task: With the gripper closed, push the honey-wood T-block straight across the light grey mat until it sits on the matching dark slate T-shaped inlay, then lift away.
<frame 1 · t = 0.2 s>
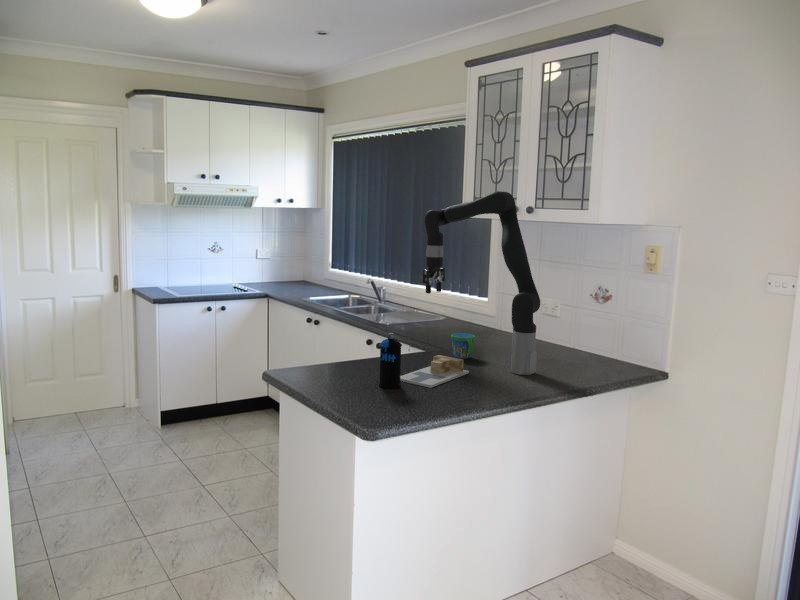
hand: (433, 292, 292), 29 cm above the table, fingers open, 8 cm apart
snack cup: (461, 358, 294), on the table
mat: (433, 376, 261), on the table
aerosol can: (389, 386, 246), on the table
t block: (442, 370, 266), point 1 cm above the table, touching mat
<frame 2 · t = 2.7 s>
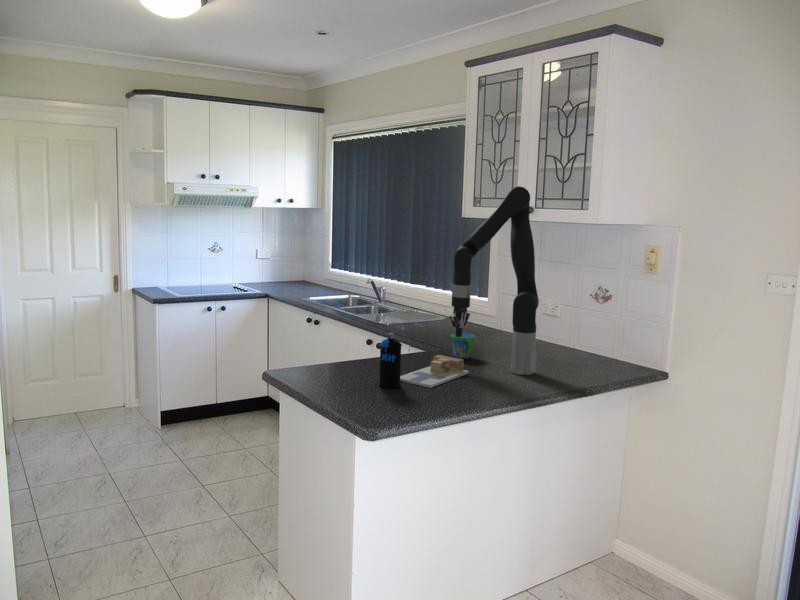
hand: (458, 336, 274), 13 cm above the table, fingers closed
nothing on the table moved.
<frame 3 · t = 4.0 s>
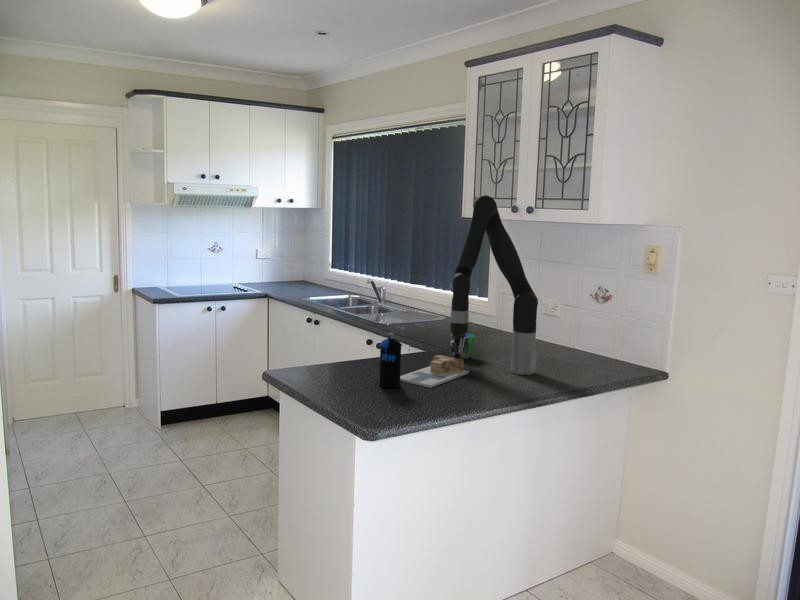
hand: (457, 361, 276), 3 cm above the table, fingers closed
nothing on the table moved.
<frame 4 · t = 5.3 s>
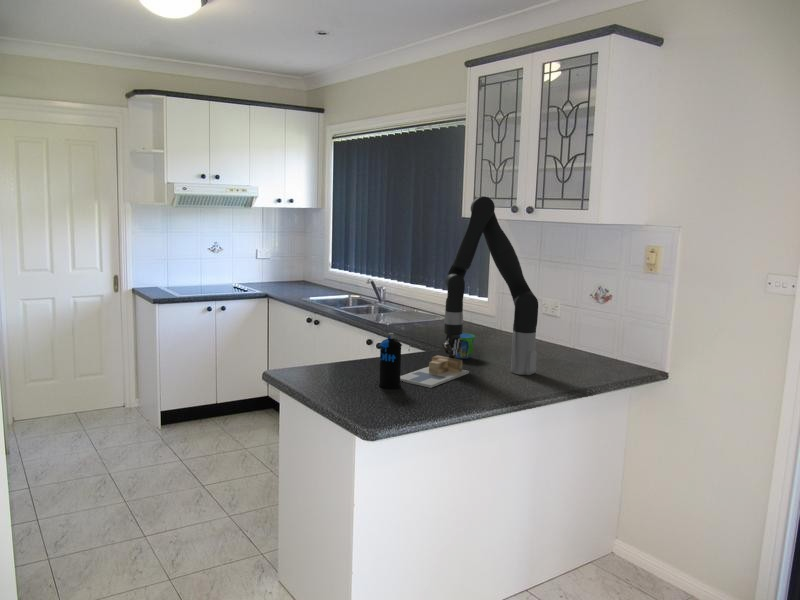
hand: (452, 363, 272), 3 cm above the table, fingers closed
t block: (441, 371, 265), point 1 cm above the table, touching gripper, mat
everything else where it was.
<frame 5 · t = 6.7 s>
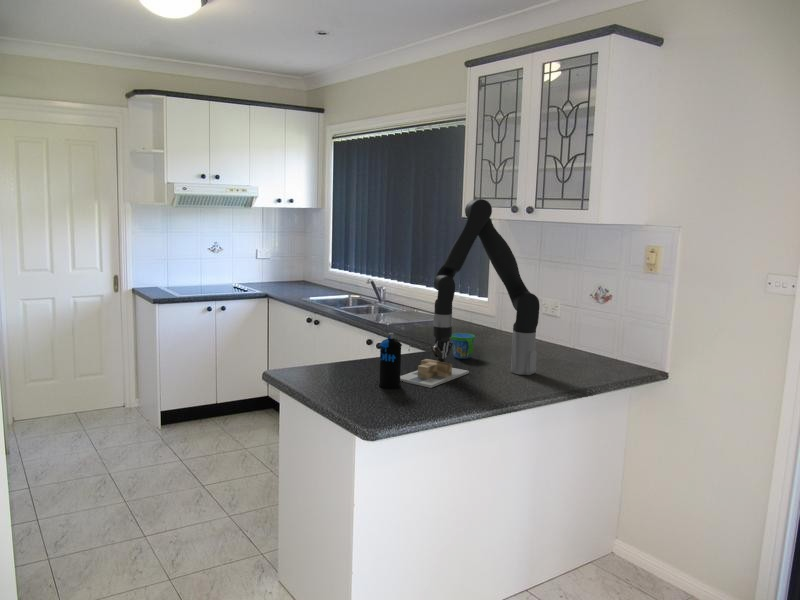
hand: (441, 367, 265), 3 cm above the table, fingers closed
t block: (430, 375, 259), point 1 cm above the table, touching gripper
everything else where it was.
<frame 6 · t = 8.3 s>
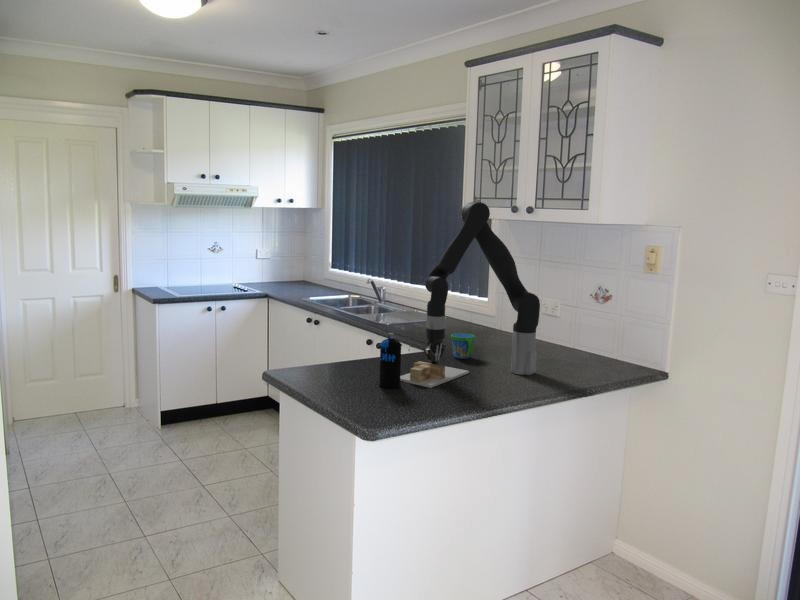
hand: (434, 369, 261), 3 cm above the table, fingers closed
t block: (423, 377, 255), point 1 cm above the table, touching gripper, mat
everything else where it was.
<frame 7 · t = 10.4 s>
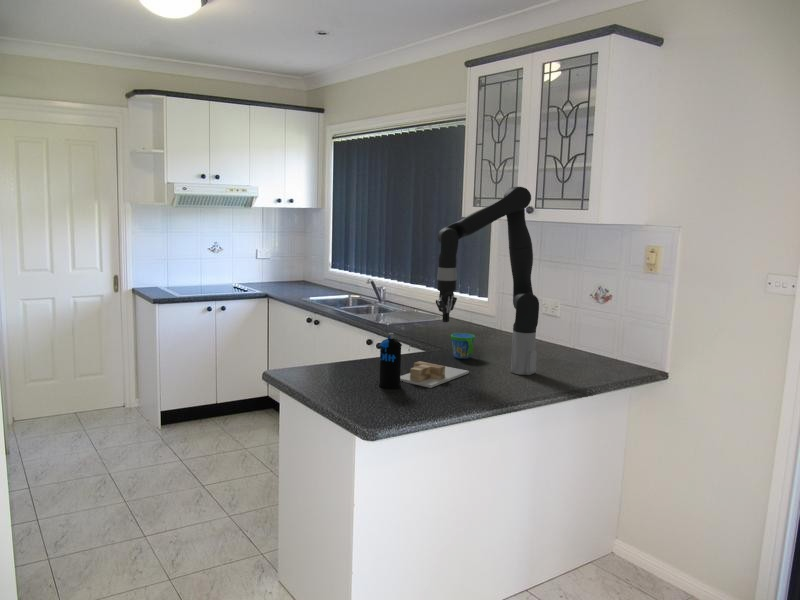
hand: (445, 321, 264), 21 cm above the table, fingers closed
t block: (423, 377, 255), point 1 cm above the table, touching mat
everything else where it was.
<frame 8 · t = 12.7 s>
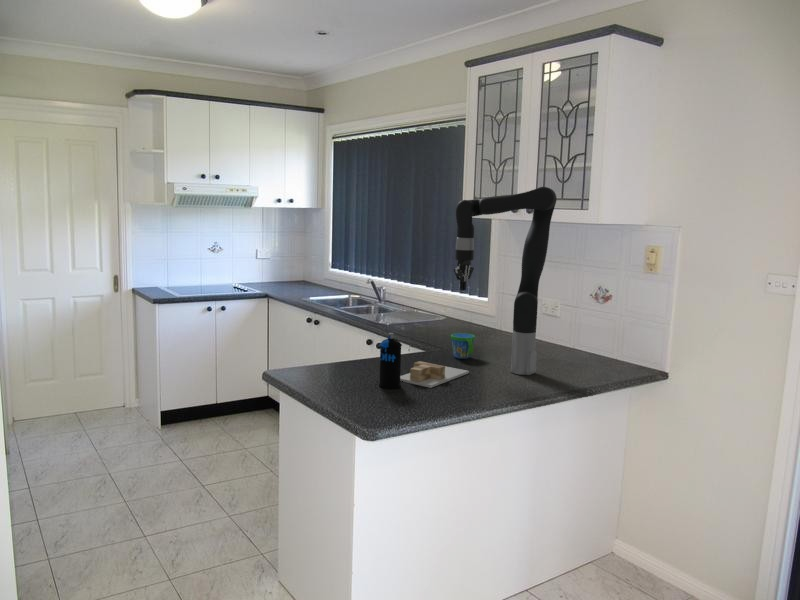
hand: (463, 290, 277), 32 cm above the table, fingers closed
nothing on the table moved.
at the end: t block 0.3 cm from the target spot on the mat, point 1.0 cm above the mat's base; t block tilted 0° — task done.
